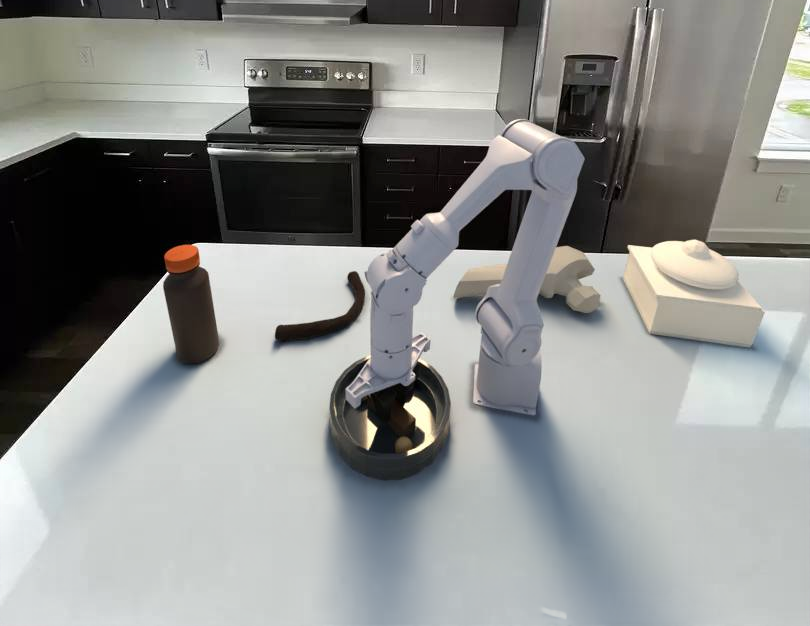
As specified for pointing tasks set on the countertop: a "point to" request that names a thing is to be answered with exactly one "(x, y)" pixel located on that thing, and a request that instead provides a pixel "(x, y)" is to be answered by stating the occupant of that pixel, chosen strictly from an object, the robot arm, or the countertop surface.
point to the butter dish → (691, 293)
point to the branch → (326, 325)
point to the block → (398, 418)
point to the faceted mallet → (558, 279)
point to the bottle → (190, 305)
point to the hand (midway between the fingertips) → (390, 410)
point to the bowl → (375, 441)
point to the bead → (403, 444)
